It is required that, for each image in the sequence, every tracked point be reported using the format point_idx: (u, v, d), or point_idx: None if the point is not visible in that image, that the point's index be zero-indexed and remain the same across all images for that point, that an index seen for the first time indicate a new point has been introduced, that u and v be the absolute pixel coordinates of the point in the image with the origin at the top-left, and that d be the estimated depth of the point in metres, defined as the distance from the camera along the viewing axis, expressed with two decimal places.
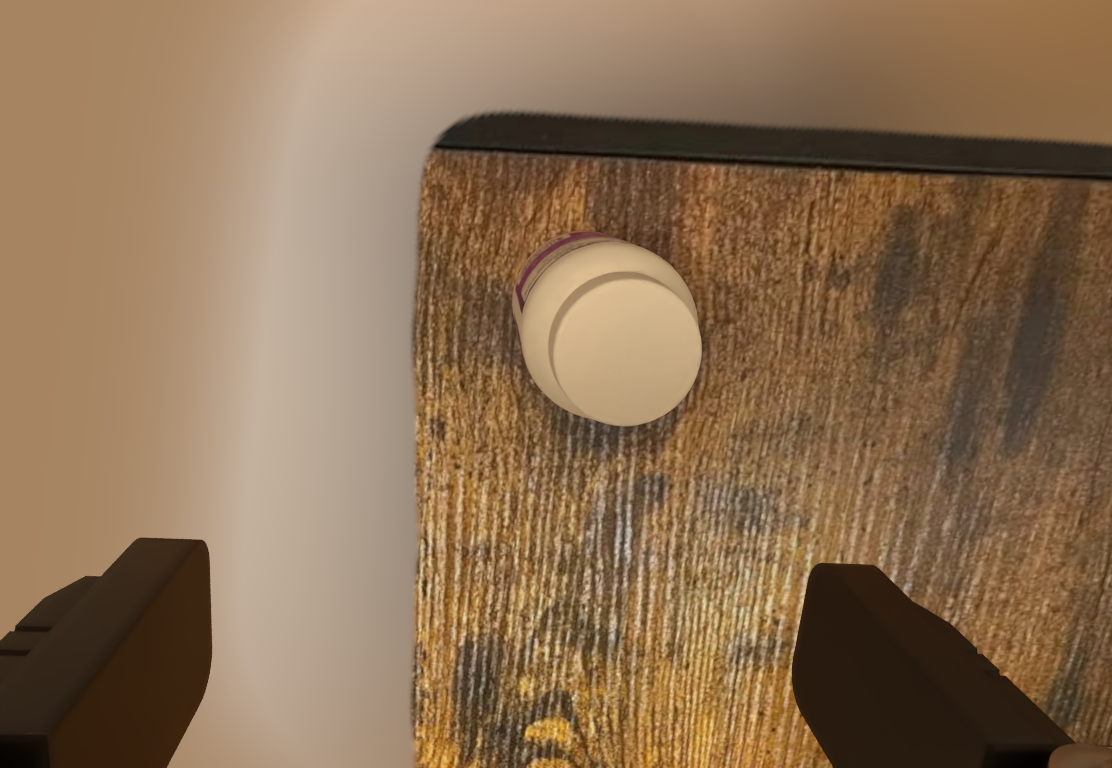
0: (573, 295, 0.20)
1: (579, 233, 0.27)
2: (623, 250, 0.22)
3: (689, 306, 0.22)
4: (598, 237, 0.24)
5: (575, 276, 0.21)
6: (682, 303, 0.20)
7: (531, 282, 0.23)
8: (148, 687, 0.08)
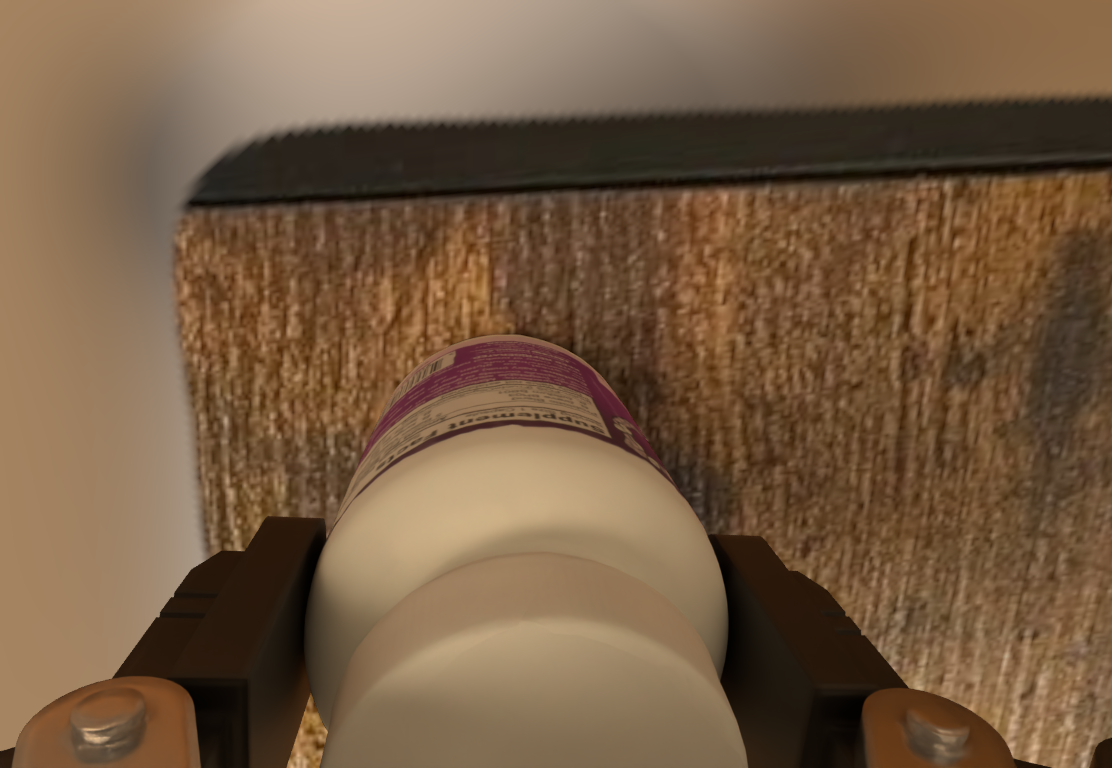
0: (372, 646, 0.07)
1: (471, 354, 0.13)
2: (522, 461, 0.09)
3: (702, 576, 0.09)
4: (492, 384, 0.11)
5: (401, 547, 0.08)
6: (682, 669, 0.07)
7: None
8: (294, 648, 0.09)
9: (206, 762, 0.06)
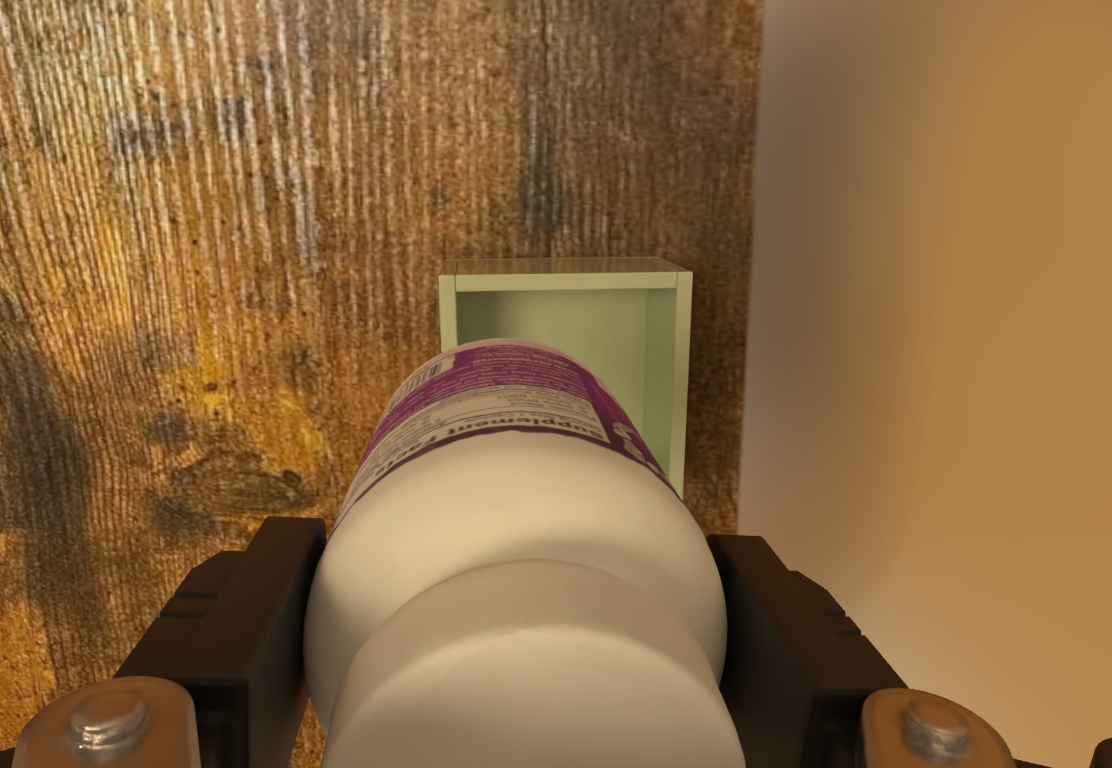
0: (370, 653, 0.07)
1: (471, 358, 0.13)
2: (521, 468, 0.09)
3: (701, 582, 0.09)
4: (491, 389, 0.11)
5: (400, 554, 0.08)
6: (680, 677, 0.07)
7: (335, 522, 0.10)
8: (294, 648, 0.09)
9: (206, 762, 0.06)
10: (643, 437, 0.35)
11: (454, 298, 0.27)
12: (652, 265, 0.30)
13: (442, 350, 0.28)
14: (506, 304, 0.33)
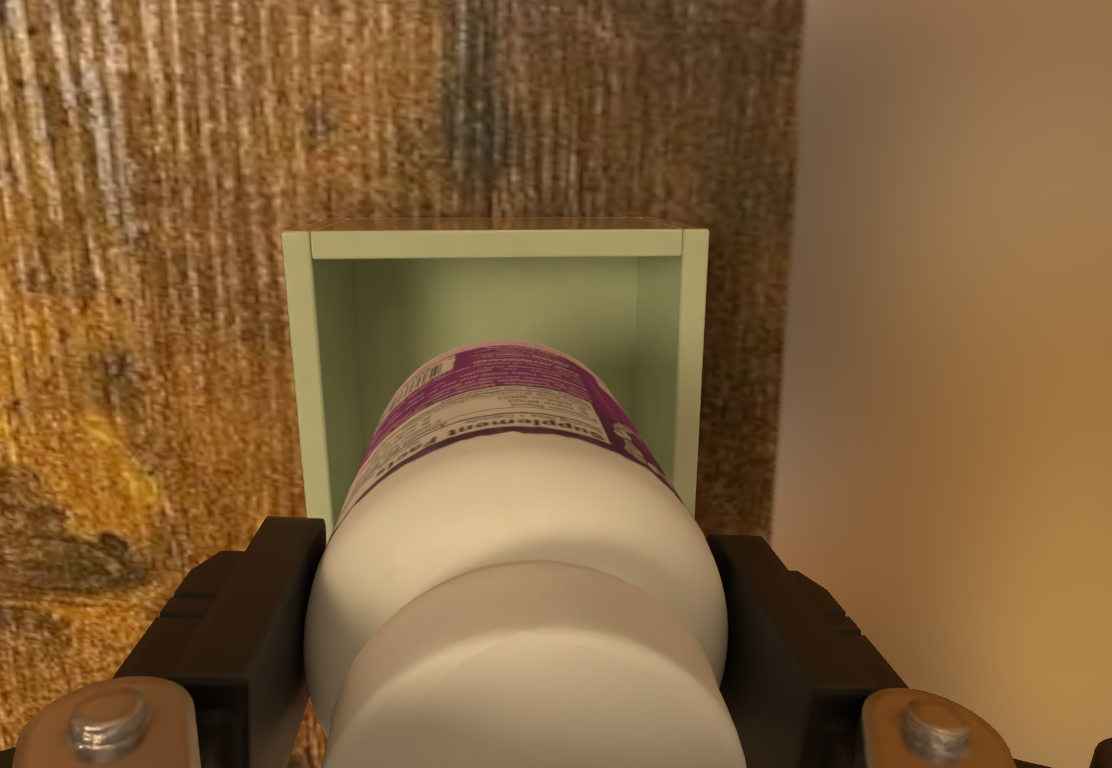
0: (371, 655, 0.07)
1: (471, 358, 0.13)
2: (521, 469, 0.09)
3: (702, 583, 0.09)
4: (491, 390, 0.11)
5: (401, 555, 0.08)
6: (681, 679, 0.07)
7: (336, 523, 0.10)
8: (294, 648, 0.09)
9: (206, 762, 0.06)
10: None
11: (310, 270, 0.16)
12: (643, 223, 0.19)
13: (293, 357, 0.17)
14: (424, 287, 0.22)
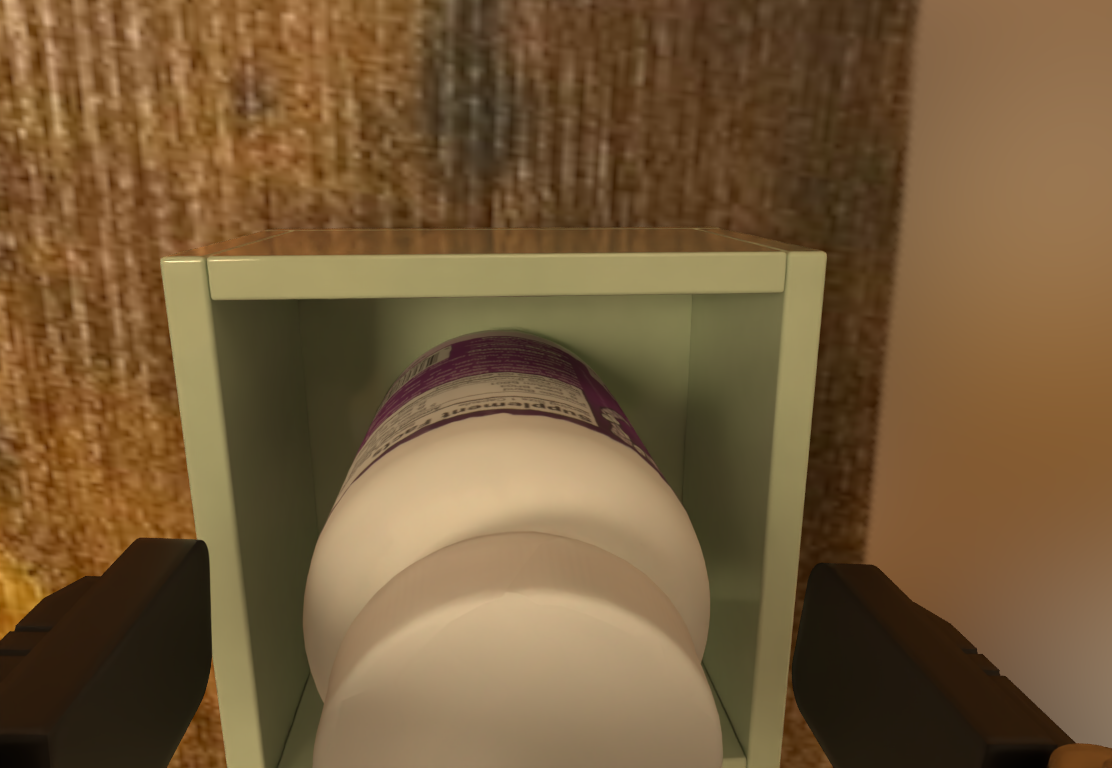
0: (366, 618, 0.08)
1: (466, 348, 0.14)
2: (511, 448, 0.09)
3: (683, 557, 0.09)
4: (484, 376, 0.12)
5: (395, 528, 0.09)
6: (657, 639, 0.07)
7: None
8: (148, 687, 0.08)
9: None
10: None
11: (208, 318, 0.10)
12: (714, 239, 0.13)
13: (187, 450, 0.11)
14: (399, 325, 0.16)
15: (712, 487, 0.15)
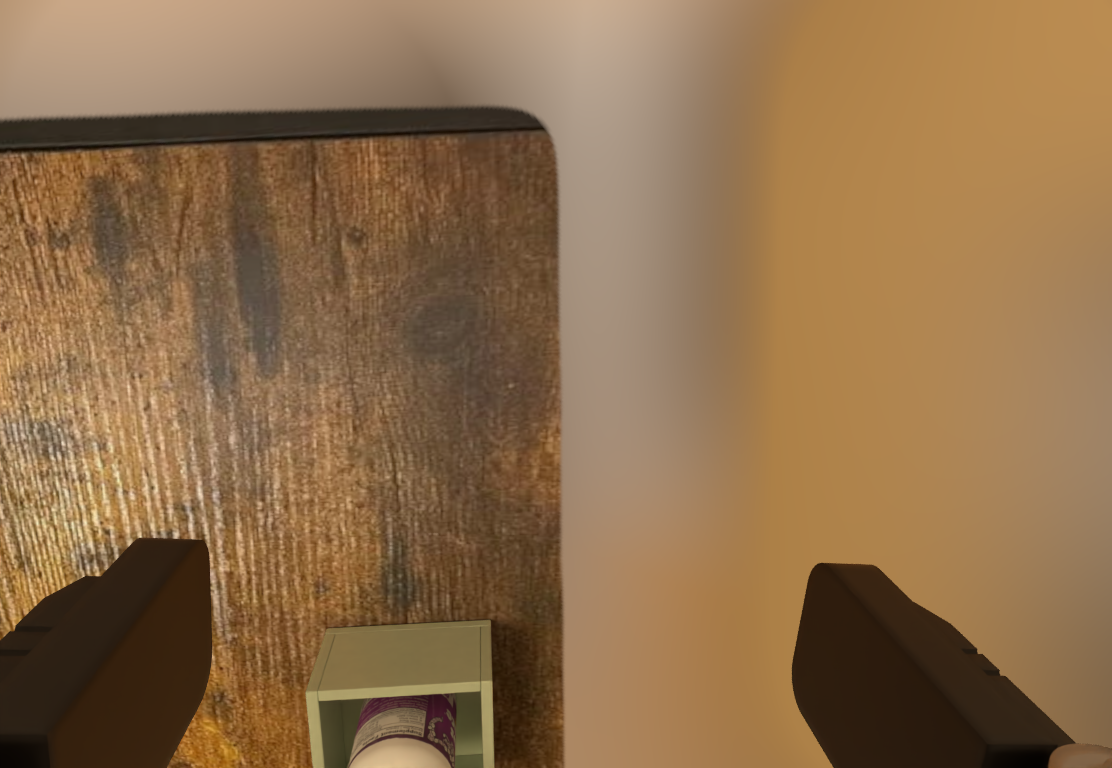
0: None
1: None
2: (396, 752, 0.37)
3: None
4: (396, 710, 0.39)
5: None
6: None
7: (352, 754, 0.38)
8: (148, 687, 0.08)
9: None
10: None
11: (317, 705, 0.38)
12: (471, 657, 0.41)
13: (310, 738, 0.39)
14: None
15: None
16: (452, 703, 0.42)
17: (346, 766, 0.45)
